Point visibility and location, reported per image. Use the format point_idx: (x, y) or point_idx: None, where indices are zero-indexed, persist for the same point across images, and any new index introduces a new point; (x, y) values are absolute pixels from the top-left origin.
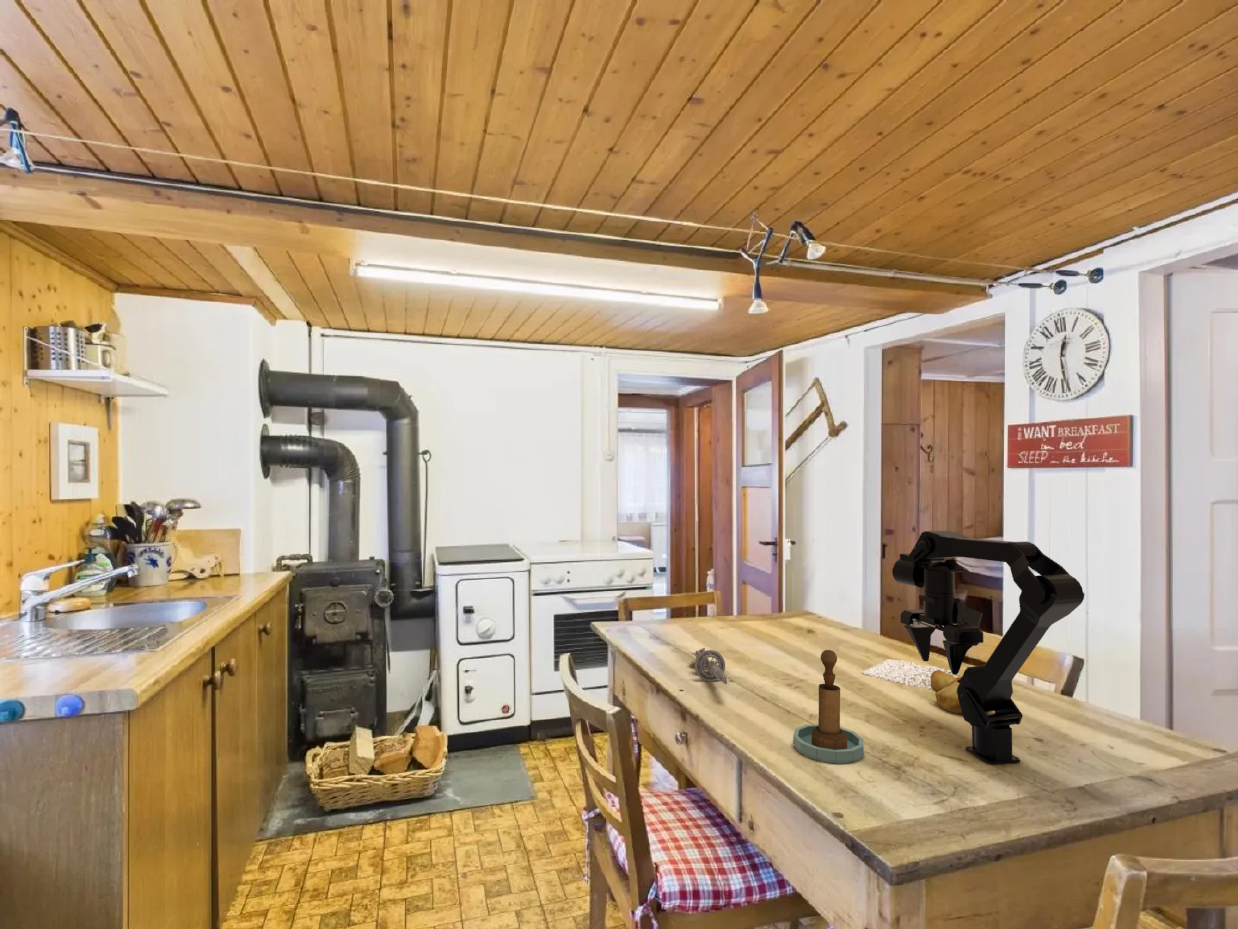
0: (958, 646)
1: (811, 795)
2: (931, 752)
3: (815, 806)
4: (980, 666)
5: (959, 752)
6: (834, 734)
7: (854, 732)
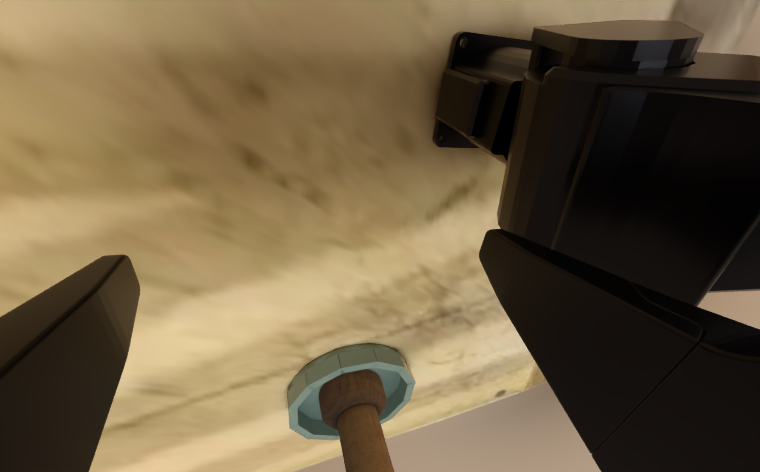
0: (724, 424)
1: (459, 408)
2: (414, 231)
3: (479, 406)
4: (745, 240)
5: (436, 167)
6: (378, 411)
7: (343, 369)
